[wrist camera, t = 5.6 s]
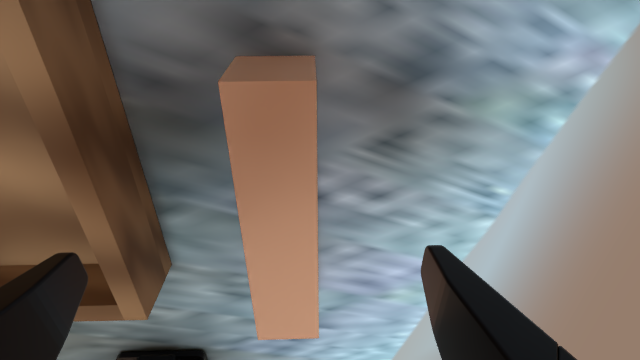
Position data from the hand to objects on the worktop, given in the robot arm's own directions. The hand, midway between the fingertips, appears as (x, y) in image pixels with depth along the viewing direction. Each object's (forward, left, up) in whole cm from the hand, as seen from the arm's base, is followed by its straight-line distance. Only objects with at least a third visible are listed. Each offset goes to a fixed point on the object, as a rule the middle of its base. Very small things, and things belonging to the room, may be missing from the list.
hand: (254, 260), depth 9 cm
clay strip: (-5, 0, -10) cm, 11 cm away
